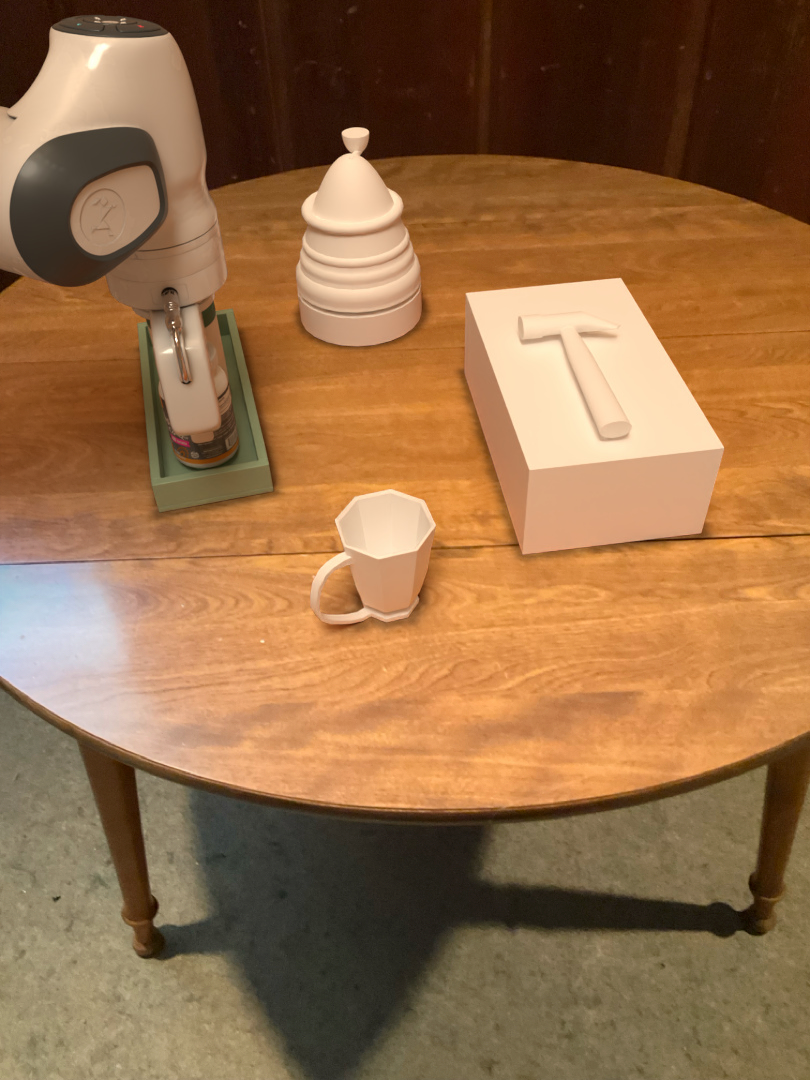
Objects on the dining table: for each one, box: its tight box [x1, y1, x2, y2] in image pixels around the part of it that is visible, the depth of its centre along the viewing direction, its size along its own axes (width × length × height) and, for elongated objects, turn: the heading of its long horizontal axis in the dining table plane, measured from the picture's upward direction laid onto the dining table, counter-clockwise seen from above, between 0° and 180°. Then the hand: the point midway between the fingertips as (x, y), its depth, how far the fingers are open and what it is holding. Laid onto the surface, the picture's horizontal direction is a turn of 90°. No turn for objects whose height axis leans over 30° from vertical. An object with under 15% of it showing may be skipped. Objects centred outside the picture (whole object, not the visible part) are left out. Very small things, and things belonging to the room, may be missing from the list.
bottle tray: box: [136, 308, 274, 513], centre depth 85 cm, size 26×10×3 cm, turn 14°
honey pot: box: [295, 126, 423, 347], centre depth 92 cm, size 13×13×18 cm
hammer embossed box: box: [463, 277, 725, 555], centre depth 78 cm, size 14×25×11 cm, turn 8°
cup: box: [309, 488, 437, 625], centre depth 66 cm, size 7×10×8 cm
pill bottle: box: [158, 341, 239, 468], centre depth 77 cm, size 6×6×10 cm
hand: (199, 411), depth 78 cm, fingers closed on pill bottle, 6 cm apart
